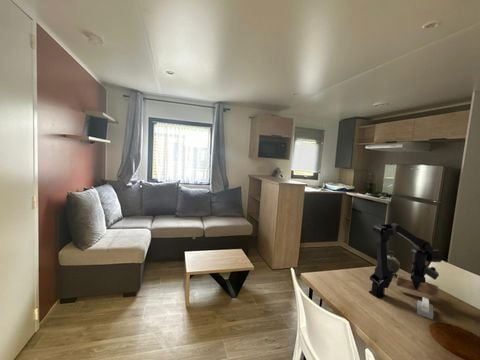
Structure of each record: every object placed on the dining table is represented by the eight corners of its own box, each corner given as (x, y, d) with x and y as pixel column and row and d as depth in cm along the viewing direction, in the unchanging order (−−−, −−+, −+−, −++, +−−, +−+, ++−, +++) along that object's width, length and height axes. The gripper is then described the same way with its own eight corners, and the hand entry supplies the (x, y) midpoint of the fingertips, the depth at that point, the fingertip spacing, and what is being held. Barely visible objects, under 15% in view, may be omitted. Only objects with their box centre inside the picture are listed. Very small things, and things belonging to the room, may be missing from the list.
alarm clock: (399, 275, 150) (401, 252, 149) (397, 278, 146) (400, 254, 145) (380, 269, 158) (383, 247, 156) (378, 271, 154) (381, 249, 152)
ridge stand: (416, 313, 110) (418, 304, 110) (417, 304, 118) (418, 295, 118) (432, 319, 107) (434, 309, 106) (431, 309, 114) (433, 300, 114)
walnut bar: (396, 285, 130) (397, 277, 129) (396, 282, 133) (397, 274, 132) (437, 297, 120) (438, 288, 120) (436, 294, 123) (437, 285, 122)
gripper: (439, 271, 113) (435, 301, 114) (437, 260, 127) (434, 286, 128) (412, 264, 120) (408, 292, 121) (413, 254, 134) (409, 279, 135)
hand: (416, 287), depth 126 cm, fingers closed on walnut bar, 4 cm apart
